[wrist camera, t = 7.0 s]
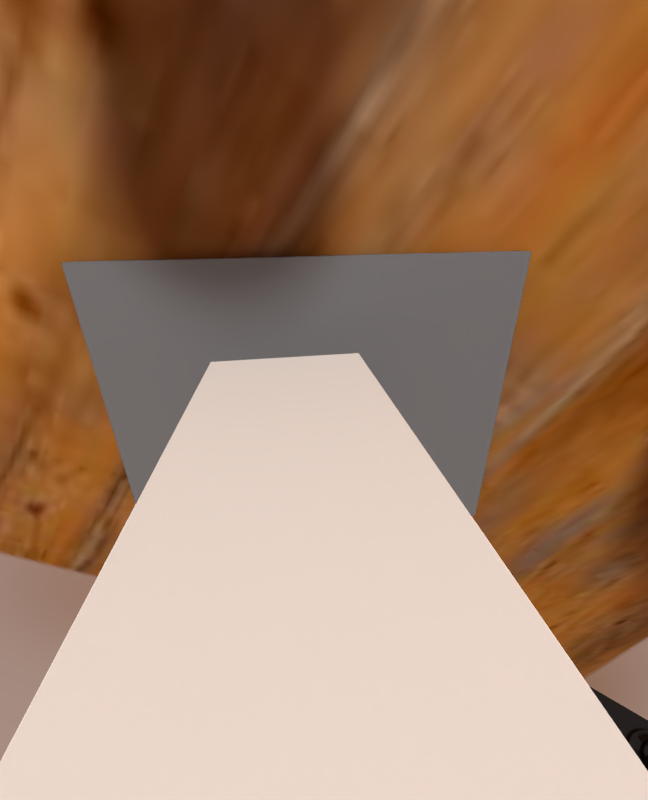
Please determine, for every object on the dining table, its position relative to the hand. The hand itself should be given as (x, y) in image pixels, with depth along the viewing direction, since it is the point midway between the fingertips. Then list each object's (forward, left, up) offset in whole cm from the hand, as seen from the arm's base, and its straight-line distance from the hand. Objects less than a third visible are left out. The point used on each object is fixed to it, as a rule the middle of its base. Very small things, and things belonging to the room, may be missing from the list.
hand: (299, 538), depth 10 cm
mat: (-1, 0, -8) cm, 8 cm away
